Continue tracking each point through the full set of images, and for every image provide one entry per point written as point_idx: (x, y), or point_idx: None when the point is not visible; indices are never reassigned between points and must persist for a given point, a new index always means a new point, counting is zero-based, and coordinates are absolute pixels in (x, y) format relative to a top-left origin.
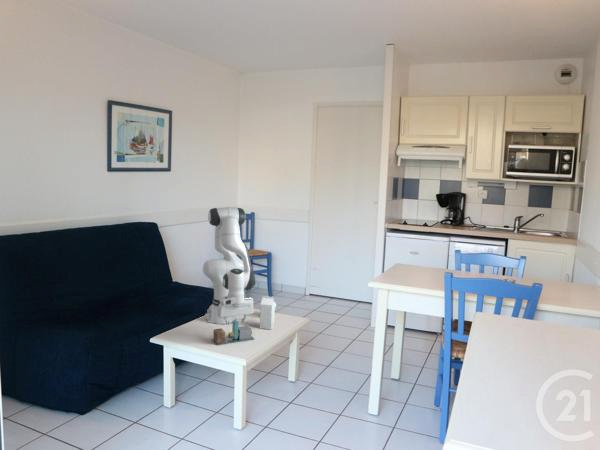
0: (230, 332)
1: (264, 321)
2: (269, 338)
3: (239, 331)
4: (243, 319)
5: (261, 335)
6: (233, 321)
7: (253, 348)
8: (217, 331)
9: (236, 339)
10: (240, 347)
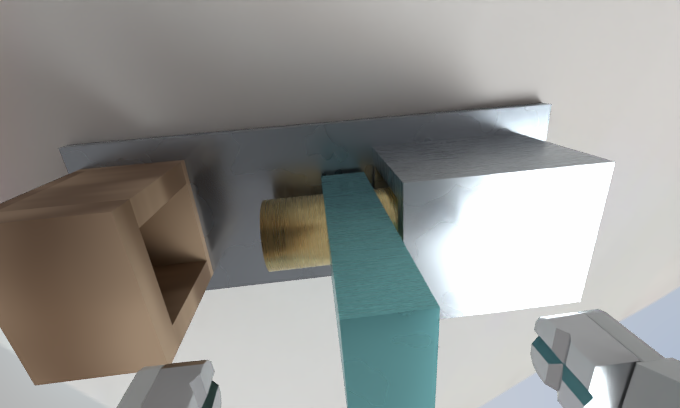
0: (282, 249)
1: None
2: (651, 255)
3: None
4: (607, 404)
5: (647, 159)
6: (343, 365)
7: None
8: (34, 336)
9: None
10: (330, 372)
